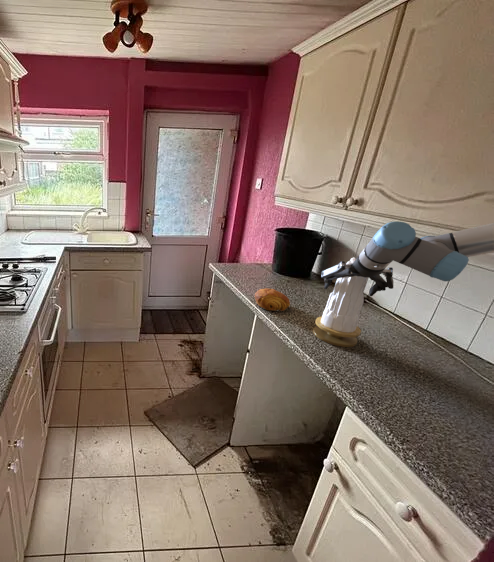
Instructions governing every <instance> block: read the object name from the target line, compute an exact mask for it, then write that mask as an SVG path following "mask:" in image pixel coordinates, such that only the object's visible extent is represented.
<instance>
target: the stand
mask: <svg viewBox="0 0 494 562" xmlns="http://www.w3.org/2000/svg"><path fill="white" fill-rule="evenodd" d="M322 316H323V315H321V316H318V317H316V319H315V325H316V326H314V327H313V328H312V334H313V335H314V336H315V338H317V339H318V340H320V341H322V342H325V343H327V344H329V345H333V346H336V347H341V348H353V347H356V346H357V343H358V338H357V337H359V336H361V333H362V330H361V328H360V327H359V326H358V325H357V327H356V330H355V331H354V332H349V333H348V332H341V331H336V330H333V329H330V328H328V327H326V326H324V324H322V323H321V319H322Z"/></svg>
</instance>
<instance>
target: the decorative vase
mask: <svg viewBox="0 0 494 562" xmlns="http://www.w3.org/2000/svg"><path fill="white" fill-rule="evenodd" d="M356 258H357V257H354V256H353V257H350V260H348V261H347V262H346V264H348V265H350V264H352V263H354V261H355V260H356ZM351 273H352V272H351ZM368 281H369V278H368V277H367V278H366V277H361V276H353V277H348V276H347V277H342V278H338V279H336V281H335V284H334V287H333V290H332V292H330V293H329V297H328V299H327V302H326V306H325V308H324V310H323V313H322V315H321V316H322V319H321V323H322V324H324V326H326V327H328V328H330V329H333V330H336V331H341V332H348V333H349V332H354V331H355V330H356V327H357V326H358V324H359V321H360V314H361V311H362V308H363V305H364V302H365V301H364V300H365V299H364V295H365V294H364V292H365V289H366V286H367V284H368Z"/></svg>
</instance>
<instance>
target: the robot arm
mask: <svg viewBox="0 0 494 562" xmlns="http://www.w3.org/2000/svg"><path fill="white" fill-rule="evenodd" d="M492 253H494V222H492V223H487V224H483V225H478V226H475V227H469V228H465V229H461V230H456V231H452V232H448V233H444V234H443V233H442V234H438V235H426V236H422V237H418V236H417V231H416V229H415V228H414V227H412V226H411V225H410V224H409V223H407V222H404V221H391V222H387V223H385V224H383V225H382V226H381V227H380V229H378V230H377V231H376V233H375V234H374V235H373V236H372V237H371V239H370V241H369V242H368V243H367V245H366V246H365V247H364V248H363V250H361V252H360V253H359V255H358V256H357V257H355V258H356V260H355V261H354V263H352V264H350V265H348V264H347V263H346V261H344V260H342V261H340V262H339V263H338V264H336V265H333V266H331V267H329V268H326V269H323V270H322V271H321V274H320V275H321V276H320V279H321V280H322V279H323V283H324V289H325V290H328V288H329V287H330V285H331V284H332V283H333V280H337V279H338V278H342V277H347V276H348V277H353V276H361V277H366V278H367V277H368V279H369V280H370V281H373V282H374V284H373V285H372V286H371V287H370V288H369V290H368V292H369V294H368V295H369V297H373V296H374V295H375V294H376V293H378V292H381V291H382V292H385V291H386V289H387V288H388V289H389V290H391V289H392V290H393V289H394V278H393V276H394V268H393V267H388V266H390V264H391V263H392V262H396V263H398V264H400V265H403V266H405V267H408V268H410V269H412V270H415V271H416V272H420V273H422V274H424V275H427V276H428V277H430V278H431V279H432V278H433V279H436V280H439V281H441V282H450V281H453V280H454V279H456V278H457V277H458V276H459V275H460V274H461V273H462V272H463V271H464V270H465V268H466V267H467V265H468V264H469V261H470V260H469V258H470V257H475V256H481V255H486V254H492ZM387 267H388V268H387ZM351 272H352V273H351ZM382 274H383V276H384V278H383V277H382Z"/></svg>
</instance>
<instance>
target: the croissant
mask: <svg viewBox="0 0 494 562" xmlns="http://www.w3.org/2000/svg"><path fill="white" fill-rule="evenodd" d="M254 300H255V302H256V304H257V305H258V306H259V307H260V308H262V309H264V310H266V311H271V312H272V311H275V312H276V311H279V312H282V311H286V310H287V309H288V308H289V307H290V305H291V302H290V299H289V298H288V296H286V295H285V294H284V293H283V292H281V291H278V290H276V289H275V288H267V287H265V288H260V289H258V290H257V291H256V292H255V293H254Z"/></svg>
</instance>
